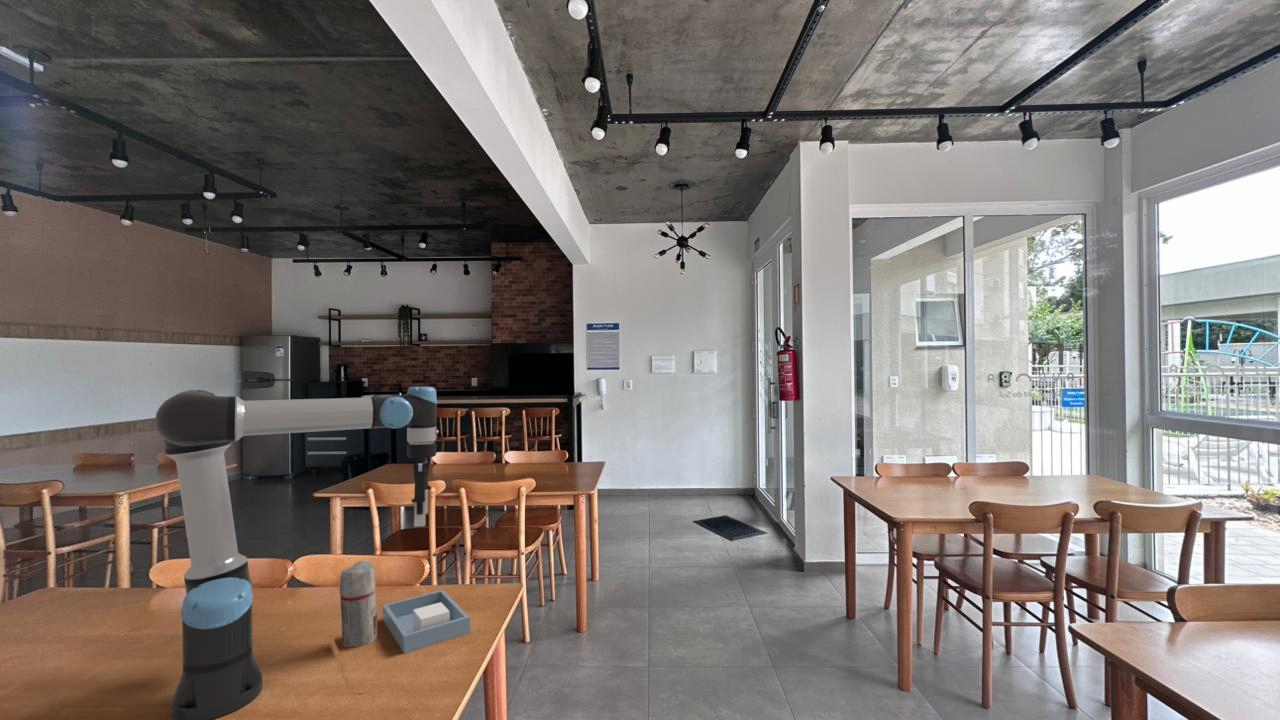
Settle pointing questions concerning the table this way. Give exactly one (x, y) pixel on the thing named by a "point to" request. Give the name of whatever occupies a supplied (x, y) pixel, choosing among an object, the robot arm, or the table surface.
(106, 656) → the table surface
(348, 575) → the grey banded cylinder
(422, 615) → the soap bar
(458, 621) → the tote
